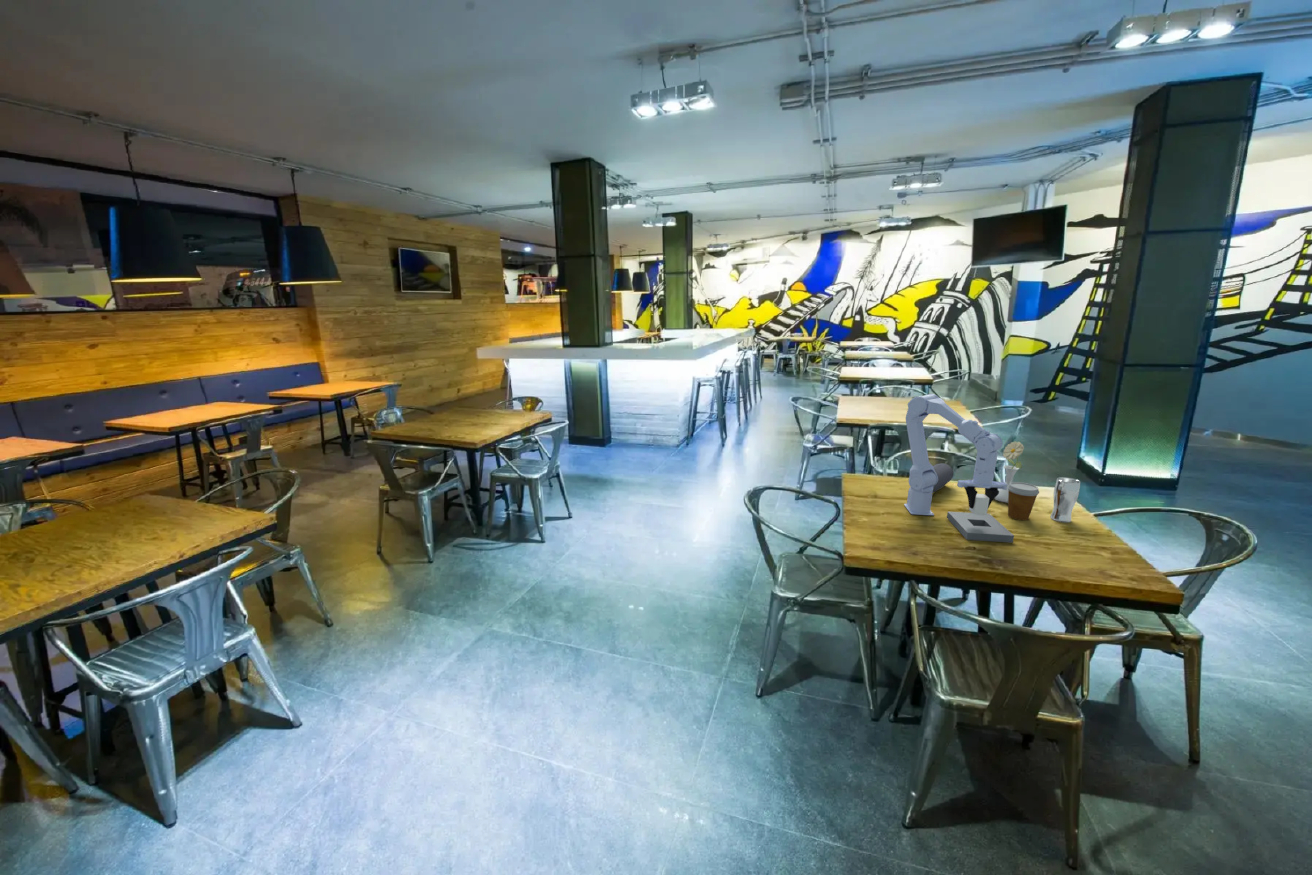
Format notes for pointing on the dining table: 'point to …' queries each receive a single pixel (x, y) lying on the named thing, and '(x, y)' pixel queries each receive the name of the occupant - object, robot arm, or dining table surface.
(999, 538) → the socket plate
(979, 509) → the plug block
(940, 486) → the bluetooth speaker
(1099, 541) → the dining table surface
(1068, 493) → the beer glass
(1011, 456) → the flower in vase
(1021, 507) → the disposable coffee cup
